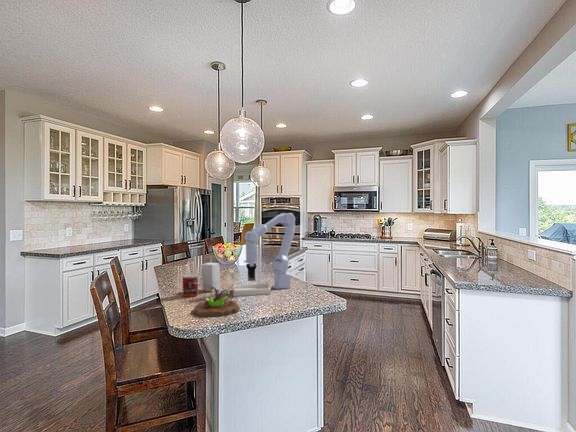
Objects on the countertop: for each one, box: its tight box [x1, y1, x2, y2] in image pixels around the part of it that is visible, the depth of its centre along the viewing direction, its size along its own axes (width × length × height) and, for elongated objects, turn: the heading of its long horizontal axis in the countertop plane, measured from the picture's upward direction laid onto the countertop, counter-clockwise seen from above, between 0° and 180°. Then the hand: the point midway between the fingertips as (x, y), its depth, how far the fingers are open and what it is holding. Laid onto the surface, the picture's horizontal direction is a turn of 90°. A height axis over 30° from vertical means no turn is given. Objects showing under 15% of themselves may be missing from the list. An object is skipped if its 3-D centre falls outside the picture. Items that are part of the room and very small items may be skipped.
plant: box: [193, 287, 240, 318], centre depth 143 cm, size 20×20×11 cm
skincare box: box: [201, 262, 221, 293], centre depth 180 cm, size 8×7×16 cm
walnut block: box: [247, 270, 256, 282], centre depth 175 cm, size 4×4×6 cm
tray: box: [232, 282, 272, 297], centre depth 175 cm, size 20×14×3 cm
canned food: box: [182, 273, 199, 299], centre depth 169 cm, size 8×8×11 cm
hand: (251, 277), depth 175 cm, fingers closed on walnut block, 4 cm apart
